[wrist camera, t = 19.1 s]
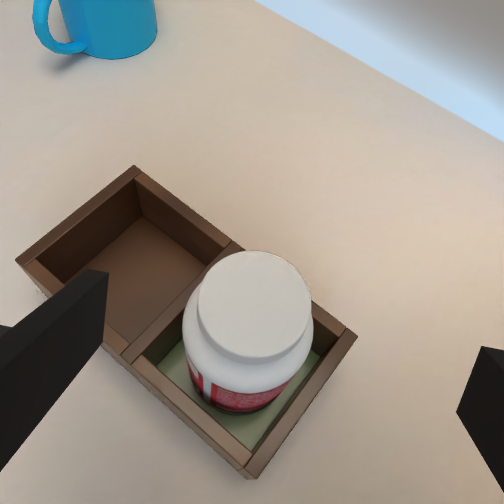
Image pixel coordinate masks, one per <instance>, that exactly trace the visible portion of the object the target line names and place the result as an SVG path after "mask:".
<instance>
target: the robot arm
mask: <svg viewBox="0 0 504 504" xmlns="http://www.w3.org/2000/svg"><path fill="white" fill-rule="evenodd" d="M108 281H109V272H104V271H99V270H94V269H89V268H87V269H86V270H85V271H84V272H82V273H81V274H80V275H79V276H77V277H76V278H75V279H73V280H72V281H71V282H70V283H68V284H67V285H66V286H64V287H63V288H62V289H61V290H59V291H58V292H57V293H56V294H54V295H53V296H52V297H50V298H49V299H48V300H47V301H45V302H44V303H43V304H42V305H40V306H39V307H38V308H36V309H35V310H34V311H33V312H31V313H30V314H29V315H27V316H26V317H25V318H24V319H22V320H21V321H20V322H19V323H17V324H16V325H15V326H13V327H8V326H3V325H0V472H1V470H2V469H3V468H4V467H5V465H6V464H7V463H8V462H9V460H10V459H11V458H12V456H13V455H14V454H15V453H16V451H17V450H18V449H19V448H20V446H21V445H22V444H23V443H24V441H25V440H26V439H27V437H28V436H29V435H30V434H31V432H32V431H33V430H34V429H35V427H36V426H37V425H38V424H39V422H40V421H41V420H42V419H43V417H44V416H45V415H46V413H47V412H48V411H49V410H50V408H51V407H52V406H53V405H54V403H55V402H56V401H57V400H58V398H59V397H60V396H61V394H62V393H63V392H64V391H65V389H66V388H67V387H68V386H69V384H70V383H71V382H72V381H73V379H74V378H75V377H76V375H77V374H78V373H79V372H80V370H81V369H82V368H83V367H84V365H85V364H86V363H87V362H88V360H89V359H90V358H91V356H92V355H93V354H94V353H95V351H96V350H97V349H98V348H99V346H100V345H101V344H102V343H103V334H104V323H105V313H106V302H107V292H108ZM456 413H457V415H458V416H459V418H460V420H461V421H462V423H463V425H464V426H465V428H466V430H467V432H468V433H469V435H470V437H471V438H472V440H473V442H474V443H475V445H476V447H477V448H478V450H479V452H480V453H481V455H482V457H483V458H484V460H485V462H486V463H487V465H488V467H489V469H490V470H491V472H492V474H493V475H494V477H495V479H496V480H497V482H498V484H499V485H500V487H501V489H502V490H503V492H504V350H499V349H494V348H489V347H484V346H481V349H480V351H479V354H478V356H477V359H476V362H475V364H474V367H473V369H472V372H471V375H470V377H469V380H468V382H467V385H466V388H465V390H464V393H463V395H462V398H461V401H460V403H459V406H458V408H457V411H456Z"/></svg>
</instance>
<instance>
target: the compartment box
mask: <svg viewBox="0 0 504 504" xmlns="http://www.w3.org/2000/svg"><path fill="white" fill-rule="evenodd" d="M243 251H246V250H245V249H244V248H242V247H241V246H240V245H238V244H237V243H236V242H234V241H232V239H230V238H229V237H228V236H226V235H225V234H224V233H222V232H221V231H220V230H219V229H217V228H216V227H215V226H213V225H212V224H211V223H209V222H208V221H207V220H205V219H204V218H203V217H202V216H200V215H199V214H198V213H196V212H195V211H194V210H192V209H191V208H190V207H188V206H187V205H186V204H184V203H183V202H182V201H181V200H179V199H178V198H177V197H175V196H174V195H173V194H171V193H170V192H169V191H167V190H166V189H165V188H164V187H162V186H161V185H160V184H158V183H157V182H156V181H154V180H153V179H152V178H150V177H149V176H148V175H147V174H145V173H144V172H142V171H141V170H140V169H139V168H137V167H136V166H135V165H133V166H132V167H130V168H129V169H128V170H127V171H125V172H124V173H123V174H121V175H120V176H119V177H118V178H116V179H115V180H114V181H113V182H111V183H110V184H109V185H108V186H106V187H105V188H104V189H103V190H101V191H100V192H99V193H98V194H96V195H95V196H94V197H93V198H91V199H90V200H89V201H88V202H86V203H85V204H84V205H83V206H81V207H80V208H79V209H77V210H76V211H75V212H74V213H72V214H71V215H70V216H69V217H67V218H66V219H65V220H64V221H62V222H61V223H60V224H59V225H57V226H56V227H55V228H54V229H52V230H51V231H50V232H49V233H47V234H46V235H45V236H44V237H42V238H41V239H40V240H39V241H37V242H36V243H35V244H34V245H32V246H31V247H30V248H28V249H27V250H26V251H25V252H23V253H22V254H21V255H20V256H18V257H17V258H16V259H15V261H16V262H17V263H18V265H19V266H20V267H21V268H22V269H23V270H24V271H25V273H26V274H27V275H28V276H29V277H30V278H31V280H32V281H33V282H34V283H35V284H36V285H37V286H38V288H39V289H40V290H41V291H42V292H43V293H44V294H45V295H46V296H47V297H48V298H50V297H52V296H53V295H54V294H56V293H57V292H58V291H59V290H61V289H62V288H63V287H64V286H66V285H67V284H68V283H70V282H71V281H72V280H73V279H75V278H76V277H77V276H79V275H80V274H81V273H82V272H84V271H85V270H86V269H87V268H89V269H94V270H99V271H104V272H109V281H108V292H107V302H106V313H105V323H104V334H103V343H102V344H101V345H100V346H101V347H102V348H103V349H105V350H106V351H107V352H108V353H109V354H110V355H111V356H112V357H113V358H114V359H115V360H117V361H118V362H119V363H120V364H121V365H122V366H123V367H124V368H125V369H126V370H127V371H129V372H130V373H131V374H132V375H133V376H134V377H135V378H136V379H137V380H138V381H140V382H141V383H142V384H143V385H144V386H145V387H146V388H147V389H148V390H149V391H150V392H152V393H153V394H154V395H155V396H156V397H157V398H158V399H159V400H160V401H161V402H162V403H164V404H165V405H166V406H167V407H168V408H169V409H170V410H171V411H172V412H173V413H174V414H176V415H177V416H178V417H179V418H180V419H181V420H182V421H183V422H184V423H185V424H186V425H188V426H189V427H190V428H191V429H192V430H193V431H194V432H195V433H196V434H197V435H199V436H200V437H201V438H202V439H203V440H204V441H205V442H206V443H207V444H208V445H209V446H211V447H212V448H213V449H214V450H215V451H216V452H217V453H218V454H219V455H220V456H221V457H223V458H224V459H225V460H226V461H227V462H228V463H229V464H230V465H231V466H232V467H233V468H235V469H236V470H237V471H238V472H239V473H240V474H241V475H242V476H243V477H244V478H245V479H247V480H254V479H257V478H258V477H259V476H260V474H261V473H262V471H263V470H264V469H265V467H266V466H267V464H268V463H269V462H270V460H271V459H272V457H273V456H274V455H275V453H276V452H277V450H278V449H279V447H280V446H281V445H282V443H283V442H284V440H285V439H286V438H287V436H288V435H289V433H290V432H291V431H292V429H293V428H294V426H295V425H296V424H297V422H298V421H299V419H300V418H301V417H302V415H303V414H304V412H305V411H306V410H307V408H308V407H309V405H310V404H311V402H312V401H313V400H314V398H315V397H316V395H317V394H318V393H319V391H320V390H321V388H322V387H323V386H324V384H325V383H326V381H327V380H328V379H329V377H330V376H331V374H332V373H333V372H334V370H335V369H336V367H337V366H338V364H339V363H340V362H341V360H342V359H343V357H344V356H345V355H346V353H347V352H348V350H349V349H350V348H351V346H352V345H353V343H354V342H355V341H356V339H357V338H358V336H357V335H356V334H355V333H354V332H352V331H351V330H350V329H348V328H346V326H345V325H343V324H342V323H341V322H339V321H338V320H337V319H335V318H334V317H333V316H331V315H330V314H329V313H328V312H326V311H325V310H324V309H322V308H321V307H320V306H318V305H317V304H316V303H314V302H313V301H312V300H311V314H312V319H313V340H312V344H311V348H310V351H309V353H308V356H307V358H306V360H305V361H304V363H303V364H302V366H301V368H300V369H299V370H298V372H297V373H296V374H295V376H294V377H293V378H292V379H291V381H290V382H289V383H288V384H287V386H286V387H285V388H284V389H283V391H282V392H281V393H280V395H279V396H278V397H277V398H276V399H275V400H274V401H273V402H272V403H271V404H269V405H268V406H267V407H265V408H263V409H261V410H259V411H257V412H254V413H251V414H246V415H233V414H227V413H224V412H221V411H219V410H217V409H215V408H213V407H211V406H210V405H209V404H207V403H206V402H205V401H204V400H203V399H202V398H201V397H200V395H199V394H198V393H197V391H196V390H195V388H194V386H193V383H192V381H191V378H190V374H189V369H188V363H187V357H186V352H185V347H184V343H183V334H182V323H183V315H184V311H185V308H186V305H187V302H188V300H189V298H190V296H191V295H192V293H193V292H194V290H195V289H196V288H197V286H198V285H199V284H200V283H201V282H202V281H203V279H204V277H205V276H206V274H207V272H208V271H209V270H210V269H211V268H212V267H213V266H214V265H215V264H216V263H217V262H219V261H220V260H222V259H223V258H225V257H227V256H229V255H232V254H235V253H238V252H243Z"/></svg>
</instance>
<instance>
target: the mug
mask: <svg viewBox="0 0 504 504" xmlns="http://www.w3.org/2000/svg"><path fill="white" fill-rule="evenodd" d="M51 1H52V0H35V1H34V6H33V16H32V19H33V24H34V29H35V33H36V35H37V36H38V38H39V40H40V41H41V43H42V44H43V45H44V46H45V47H47V48H48V49H50V50H51V51H53V52H55V53H59V54H66V55H70V54H74V53H78V52H84V53H86V54H89V55H91V56H94V57H97V58H105V59H120V58H127V57H130V56H133V55H137V54H139V53H140V52H142V51H144V50H145V49H147V48H148V47H149V46H150V45H151V44H152V42H153V41H154V40H155V37H156V34H157V25H156V16H155V7H154V0H58V1H59V5H60V8H61V11H62V14H63V18H64V21H65V24H66V27H67V31H68V34H69V37H70V39H71V40H72V42H70V43H65V44H64V43H58V42H57V41H55V40H54V39H53V38H52V36H51V34H50V32H49V28H48V22H47V21H48V12H49V7H50V4H51Z"/></svg>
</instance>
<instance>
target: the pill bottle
mask: <svg viewBox="0 0 504 504" xmlns="http://www.w3.org/2000/svg"><path fill="white" fill-rule="evenodd" d="M182 334H183V343H184V347H185V352H186V357H187V363H188V369H189V374H190V378H191V381H192V383H193V386H194V388H195V390H196V391H197V393H198V394H199V395H200V397H201V398H202V399H203V400H204V401H205V402H206V403H207V404H209V405H210V406H211V407H213V408H215V409H217V410H219V411H221V412H224V413H227V414H233V415H246V414H251V413H254V412H257V411H259V410H261V409H263V408H265V407H267V406H268V405H269V404H271V403H272V402H273V401H274V400H275V399H276V398H277V397H278V396H279V395H280V393H281V392H282V391H283V389H284V388H285V387H286V386H287V384H288V383H289V382H290V381H291V379H292V378H293V377H294V376H295V374H296V373H297V372H298V370H299V369H300V368H301V366H302V364H303V363H304V361H305V360H306V358H307V356H308V353H309V351H310V348H311V344H312V340H313V319H312V314H311V297H310V292H309V289H308V287H307V284H306V282H305V280H304V278H303V277H302V276H301V274H300V273H299V272H298V270H297V269H296V268H295V267H294V266H292V265H291V264H290V263H289V262H287V261H286V260H284V259H283V258H281V257H278V256H276V255H274V254H271V253H267V252H262V251H243V252H238V253H235V254H232V255H229V256H227V257H225V258H223V259H222V260H220V261H219V262H217V263H216V264H215V265H214V266H213V267H212V268H211V269H210V270H209V271H208V272H207V274H206V276H205V277H204V279H203V281H202V282H201V283H200V284H199V285H198V286H197V288H196V289H195V290H194V292H193V293H192V295H191V296H190V298H189V300H188V302H187V305H186V308H185V311H184V315H183V323H182Z"/></svg>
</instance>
